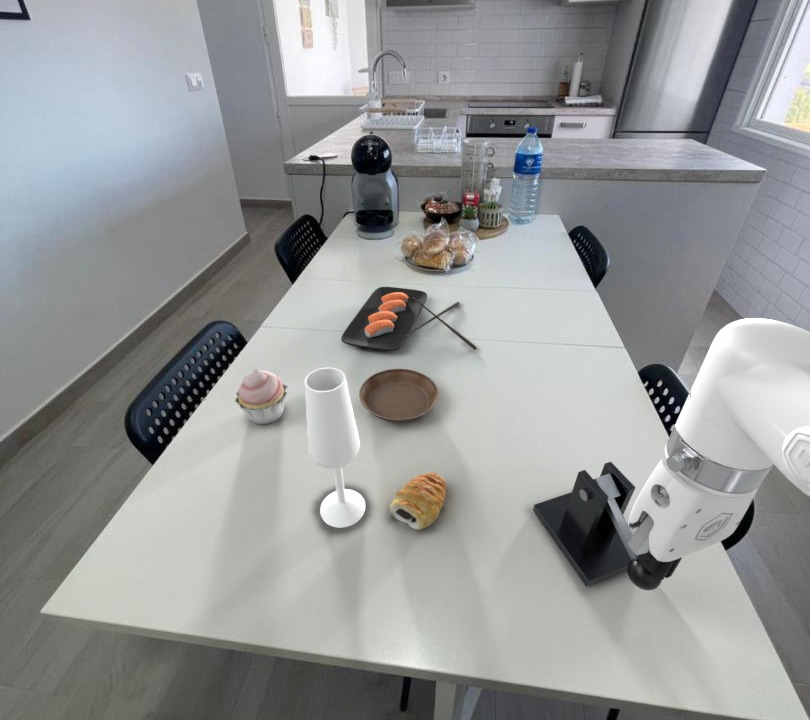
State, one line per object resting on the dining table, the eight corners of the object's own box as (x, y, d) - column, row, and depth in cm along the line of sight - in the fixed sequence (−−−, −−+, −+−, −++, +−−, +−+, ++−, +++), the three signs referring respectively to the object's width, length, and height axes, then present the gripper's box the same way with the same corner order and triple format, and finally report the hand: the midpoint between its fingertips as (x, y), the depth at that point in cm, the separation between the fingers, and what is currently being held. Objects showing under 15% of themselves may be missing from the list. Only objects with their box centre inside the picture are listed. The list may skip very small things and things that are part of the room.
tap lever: (655, 584, 53) (675, 583, 50) (630, 595, 52) (650, 594, 49) (601, 477, 59) (617, 470, 55) (578, 485, 58) (593, 478, 55)
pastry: (419, 472, 71) (420, 456, 69) (457, 492, 68) (459, 475, 66) (385, 515, 65) (385, 498, 62) (425, 538, 62) (426, 522, 59)
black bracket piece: (643, 563, 58) (674, 507, 52) (585, 586, 56) (610, 531, 49) (583, 492, 68) (603, 437, 61) (532, 510, 65) (547, 454, 58)
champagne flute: (356, 532, 62) (341, 402, 48) (312, 521, 64) (285, 392, 50) (372, 494, 68) (362, 367, 54) (331, 484, 69) (311, 358, 55)
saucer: (445, 386, 89) (446, 375, 87) (426, 437, 77) (426, 426, 76) (376, 373, 92) (375, 362, 91) (347, 420, 81) (346, 409, 79)
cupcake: (297, 397, 86) (289, 355, 80) (284, 432, 79) (274, 387, 73) (250, 395, 87) (239, 353, 81) (232, 429, 79) (218, 385, 73)
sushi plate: (378, 291, 122) (377, 278, 120) (488, 304, 116) (489, 291, 114) (337, 349, 100) (335, 334, 98) (470, 369, 93) (472, 354, 91)
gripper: (686, 510, 35) (623, 624, 45) (818, 460, 39) (732, 575, 49) (618, 445, 41) (576, 559, 51) (739, 407, 45) (677, 520, 55)
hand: (653, 567), depth 50 cm, fingers closed
